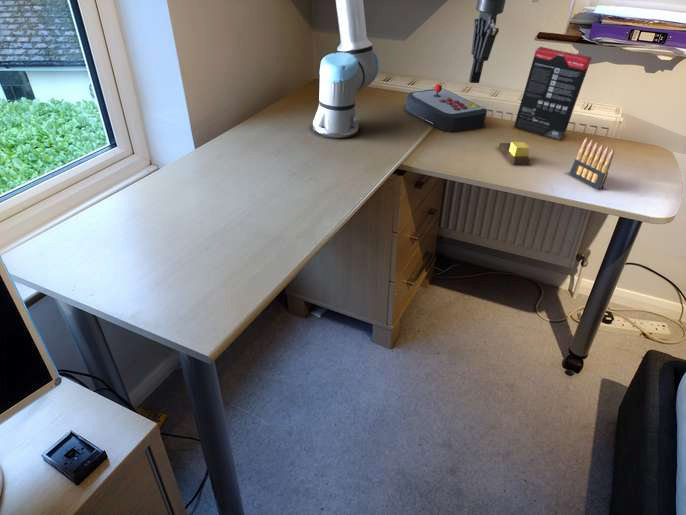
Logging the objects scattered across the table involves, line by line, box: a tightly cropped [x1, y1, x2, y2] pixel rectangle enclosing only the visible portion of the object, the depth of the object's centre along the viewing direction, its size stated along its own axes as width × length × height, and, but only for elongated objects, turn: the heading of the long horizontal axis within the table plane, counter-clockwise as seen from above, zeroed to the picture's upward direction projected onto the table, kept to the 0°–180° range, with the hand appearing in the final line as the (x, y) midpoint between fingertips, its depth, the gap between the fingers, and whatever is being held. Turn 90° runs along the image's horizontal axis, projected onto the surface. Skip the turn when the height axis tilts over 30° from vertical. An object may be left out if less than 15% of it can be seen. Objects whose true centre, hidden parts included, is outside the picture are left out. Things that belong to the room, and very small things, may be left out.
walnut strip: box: [498, 142, 531, 166], centre depth 161 cm, size 12×5×2 cm, turn 8°
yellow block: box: [509, 141, 530, 157], centre depth 158 cm, size 4×4×3 cm
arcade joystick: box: [404, 83, 488, 132], centre depth 183 cm, size 28×19×10 cm
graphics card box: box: [513, 46, 592, 141], centre depth 172 cm, size 17×7×27 cm, turn 58°
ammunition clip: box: [568, 137, 615, 190], centre depth 147 cm, size 11×2×12 cm, turn 30°
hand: (474, 82), depth 154 cm, fingers closed
